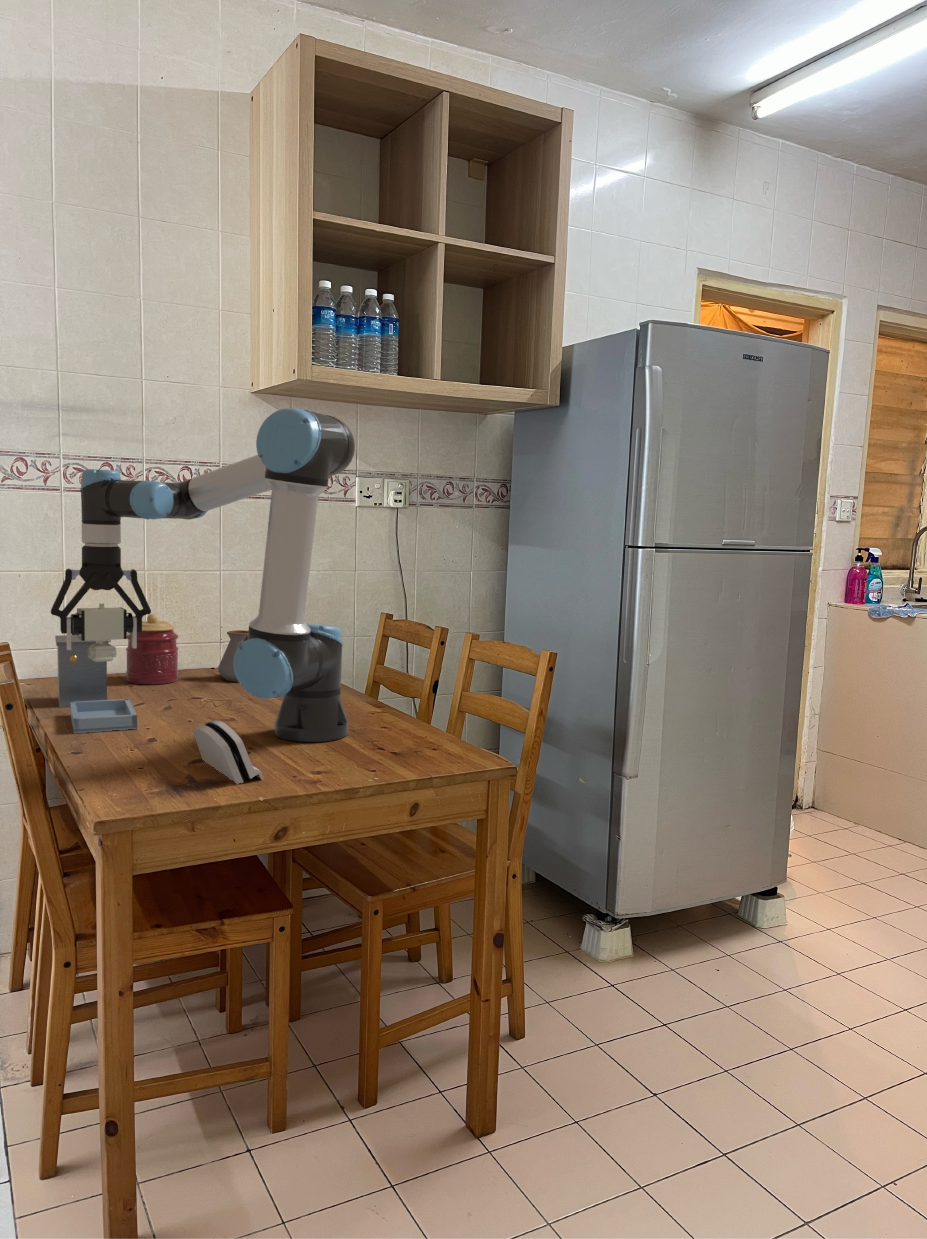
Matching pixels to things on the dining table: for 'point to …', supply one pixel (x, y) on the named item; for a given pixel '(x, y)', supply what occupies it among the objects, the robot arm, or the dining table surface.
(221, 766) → the grey curved fin
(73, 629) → the pneumatic valve
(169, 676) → the canister
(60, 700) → the box
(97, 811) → the dining table surface
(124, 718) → the tray
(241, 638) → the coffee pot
